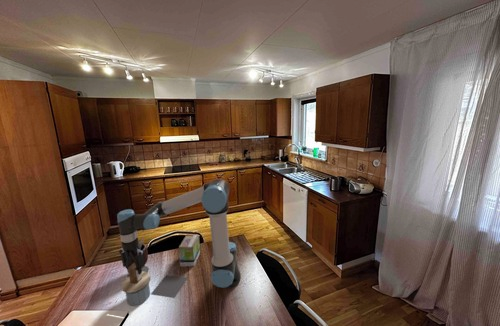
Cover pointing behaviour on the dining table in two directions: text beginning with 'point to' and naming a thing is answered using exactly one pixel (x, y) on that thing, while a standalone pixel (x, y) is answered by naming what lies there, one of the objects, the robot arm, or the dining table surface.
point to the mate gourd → (143, 247)
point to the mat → (169, 286)
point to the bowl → (138, 296)
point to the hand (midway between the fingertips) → (135, 278)
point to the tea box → (189, 250)
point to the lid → (135, 280)
